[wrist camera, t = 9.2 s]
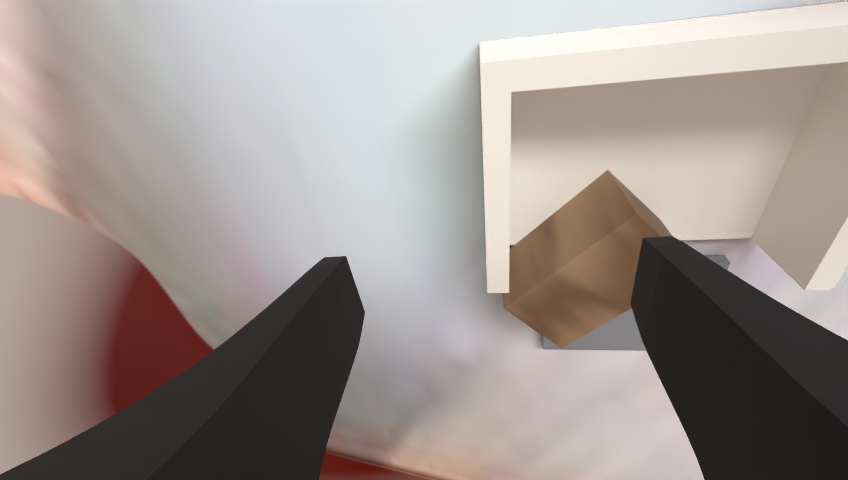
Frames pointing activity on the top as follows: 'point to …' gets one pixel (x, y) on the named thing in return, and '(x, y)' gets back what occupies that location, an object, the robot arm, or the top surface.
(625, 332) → the mat
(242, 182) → the top surface
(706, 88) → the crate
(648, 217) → the walnut block
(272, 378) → the robot arm
